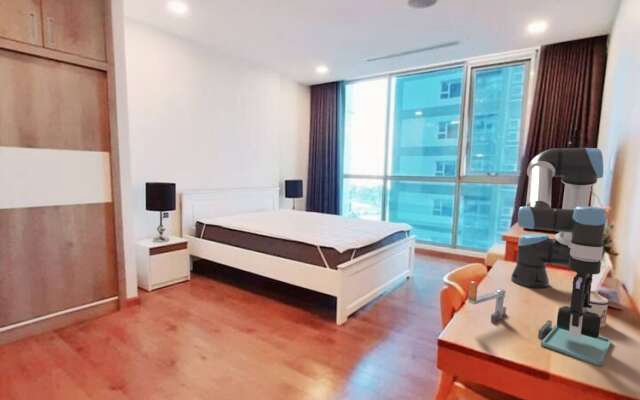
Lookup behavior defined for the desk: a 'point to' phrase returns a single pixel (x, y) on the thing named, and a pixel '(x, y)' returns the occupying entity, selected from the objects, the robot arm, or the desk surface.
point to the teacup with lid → (598, 306)
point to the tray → (577, 345)
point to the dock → (502, 311)
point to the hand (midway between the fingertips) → (577, 331)
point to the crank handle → (478, 299)
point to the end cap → (588, 322)
